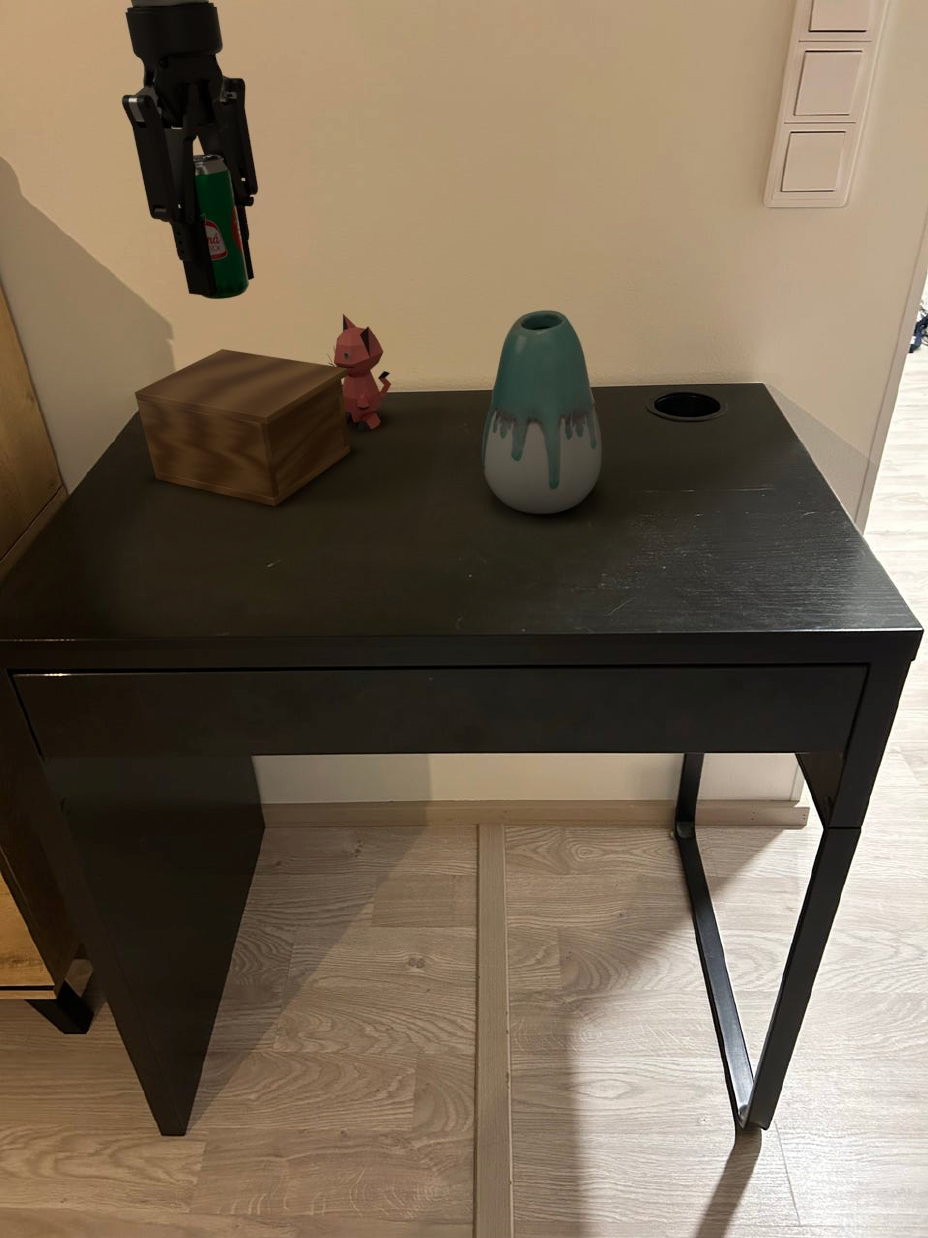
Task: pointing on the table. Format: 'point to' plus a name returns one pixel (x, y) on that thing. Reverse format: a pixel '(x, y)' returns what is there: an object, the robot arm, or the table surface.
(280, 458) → the chest
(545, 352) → the vase
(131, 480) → the table surface
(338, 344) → the cat figurine
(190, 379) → the chest lid
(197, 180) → the soda can
